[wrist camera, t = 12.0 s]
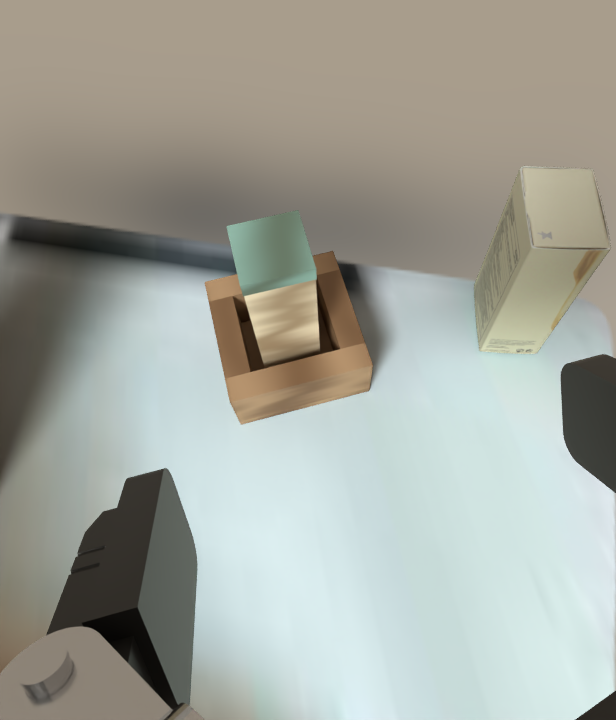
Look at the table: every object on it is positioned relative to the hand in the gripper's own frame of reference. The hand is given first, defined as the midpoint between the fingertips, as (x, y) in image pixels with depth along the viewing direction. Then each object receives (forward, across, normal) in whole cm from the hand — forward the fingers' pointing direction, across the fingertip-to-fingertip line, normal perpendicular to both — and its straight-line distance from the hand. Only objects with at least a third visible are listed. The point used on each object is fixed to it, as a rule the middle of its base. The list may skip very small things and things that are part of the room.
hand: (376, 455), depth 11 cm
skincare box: (+28, -17, +8) cm, 34 cm away
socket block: (+29, 0, +7) cm, 30 cm away
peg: (+29, 0, +7) cm, 30 cm away
